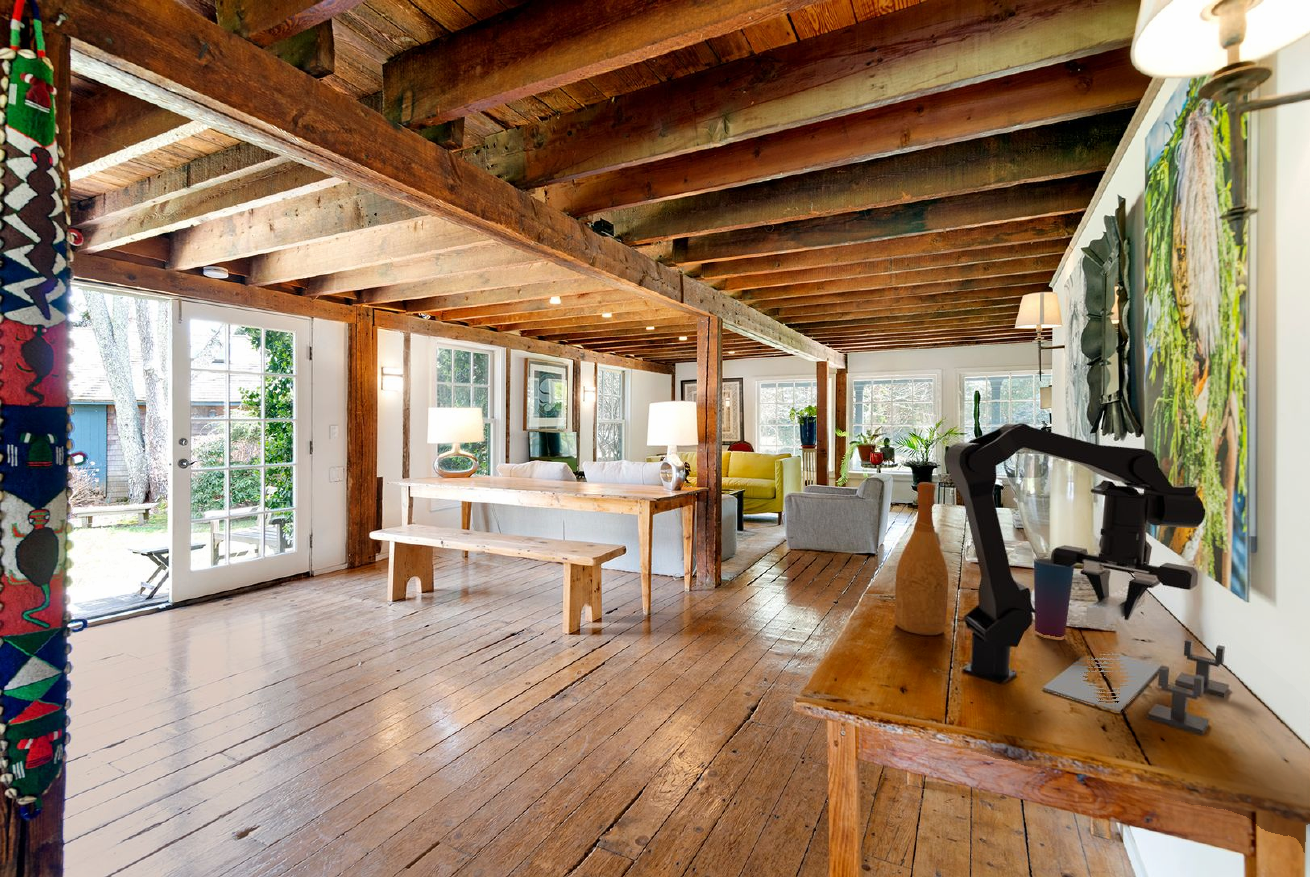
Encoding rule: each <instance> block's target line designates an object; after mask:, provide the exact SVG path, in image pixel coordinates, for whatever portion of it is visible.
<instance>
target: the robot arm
mask: <svg viewBox="0 0 1310 877" xmlns="http://www.w3.org/2000/svg"><path fill="white" fill-rule="evenodd" d="M1022 449H1023V450H1024V451H1030V452H1033V453H1036V454H1040V455H1045V456H1048V457H1053V458H1056V459H1059V460H1063V461H1066V462H1071V463H1074V464H1078V465H1080V466H1083V467H1085V468H1087V469H1089V470H1090V471H1091V472H1094V473H1095V474H1097V475H1100V476H1102V477H1104V478H1106V479H1109V480H1111V481H1109V480H1105V479H1103V480H1102V481H1101V483H1099V484H1098V485H1096V486H1094V487H1093V488H1091V489H1090V493H1091V494H1095V495H1100V496H1104V500H1103V501H1104V502H1103V512H1102V527H1101V528H1100V532H1099V534H1100V535H1101V536H1100V539H1099V545H1098V546H1099V549H1100V550H1099V553H1098V555H1095V554H1090V553H1088V549H1087V548H1084V547H1078V546H1071V545H1068V544H1067V545H1060V546H1058V547H1055V548H1053V549H1052V551H1051V554H1050V555H1051V556H1050V559H1051V563H1052V564H1057V565H1062V566H1067V567H1072V566H1073V565H1074V566H1075V565H1076V564H1080V565H1082V569H1081V570H1080V575H1082V576H1083V575H1084V576H1086V577H1087V580H1088V582H1089V583H1090V584H1091V586H1092V589H1093V592H1094V593H1095V595H1096V597H1097V602H1098V601H1100V600H1102V599H1104V598H1106V597H1108V596H1110V587H1109V586H1110V584H1109V581H1110V577H1111V570H1114V571H1118V572H1123V573H1128V574H1133V576H1134V578H1133V579H1131V580H1129V581H1128V585H1127V586H1128V592H1127V598H1126V604H1125V616H1123V617H1124V621H1129V620H1130V618H1131V616H1132V615H1133V613H1134V611H1135V610H1136V609H1135V607H1136V605H1137V603H1138V601H1139V600H1140V598H1141V596H1142V595H1143V594H1144V592H1145V593H1146V591H1147V590H1148V589H1153V588H1155V587H1157V586H1159V585H1160V584H1162V586H1167V587H1171V588H1176V589H1182V590H1188V591H1190V590H1192V589H1194V588H1195V587H1196V586H1198V578H1199V572H1198V571H1197V569H1196V568H1195V567H1194V566H1187V565H1183V564H1176V563H1170V562H1165V563H1163V564H1161V565H1159V566H1157V565H1153V564H1150V561H1151V555H1152V550H1153V549H1152V548H1153V546H1152V545H1151V544H1150V542H1148V541H1147V522H1148V523H1149V524H1151V525H1152V526H1157V527H1173V528H1188V529H1189V528H1191V529H1192V528H1193V529H1194V528H1198V527H1199V526H1201V524H1202V523H1203V522H1204V520H1205V517H1206V508H1205V507H1204V502H1203V501H1202V499H1201V498H1200V497H1199V496H1198V495H1197V487H1196V486H1190V485H1182V484H1181V485H1174V486H1173V485H1172V483H1171V482H1170V480H1169V479H1168V477H1167V476H1166V475H1165V473H1164V472H1163V471H1162V469H1161V468H1160V465H1159V464H1160V463H1159V461H1158V458H1157V457H1156V453H1155V452H1153V451H1151V450H1149V449H1146V448H1139V447H1138V448H1135V447H1126V446H1114V445H1106V444H1105V445H1104V444H1097V443H1094V442H1089V441H1085V440H1082V439H1078V438H1075V437H1072V436H1071V437H1070V436H1066V435H1063V434H1059V433H1055V432H1051V431H1048V430H1044V429H1040V428H1037V427H1032V426H1030V425H1029V424H1027V423H1022V422H1020V423H1019V422H1007V423H1005V424H1004V425H1002V426H1000V427H999V428H997V429H994V430H993V431H990V432H988V433H985V434H983V435H981V436H978V437H975V438H973V439H971V440H970V441H968V442H963V441H962V442H957V443H954V444H952V445H951V446H949V448H948V450H946V452H945V453H944V456H943V457H944V458H943V459H944V465H945V467H946V470H947V472H948V474H949V477H950V479H951V481H952V482H953V484H954V486H955V487H956V489H957V490H958V492H959V493H960V495H961V497H962V499H963V504H964V508H965V512H966V518H967V521H968V525H969V529H970V534H971V537H972V542H973V546H974V551H975V554H976V559H977V564H978V567H979V572H980V577H981V578H980V582H979V586H978V590H977V593H978V594H977V595H978V604H977V605H976V606H975V607H974V608H972V609H971V610H970V611H969V612H967V613H966V614H965V615H964V616H963V619H964V623H965V626H966V628H967V629H968V630H970V631H972V634H971V646H970V647H971V649H970V650H971V651H970V652H971V653H970V663H968V664H966V665H965V666H962V669H961V670H962V672H965V673H967V674H970V675H974V676H978V677H979V678H983V679H986V680H989V681H992V682H994V683H999V684H1004V683H1006V682H1008V681H1009V680H1011V679H1012V678H1014V677H1016V675H1017V674H1018V673H1017V671H1016V670H1014V669H1011V668H1010V660H1011V657H1010V656H1011V647H1012V648H1017V647H1018V646H1019V645H1020V642H1021V640H1022V638H1023V635H1024V634H1025V632H1027V631H1028V629H1029V628H1030V626H1032V624H1033V620H1034V619H1033V614H1035V613H1036V611H1035V607H1033V604H1032V595H1031V594H1032V593H1031V591H1030V588H1029V587H1027V586H1026V585H1023V584H1022V583H1020V582H1018V581H1016V580H1015V579H1014V577H1013V575H1012V570H1011V566H1010V562H1009V558H1008V554H1007V549H1006V545H1005V541H1004V536H1003V532H1002V528H1001V523H1000V520H999V516H998V511H997V506H996V502H995V498H994V491H995V486H996V482H997V466H998V465H1000V464H1001V463H1003V462H1005V461H1008V460H1009V459H1010V458H1011V457H1012V456H1013V455H1015V454H1016V453H1017V452H1018V451H1021V450H1022ZM1113 481H1115V482H1121V483H1122V484H1124V485H1116V484H1115V483H1114V482H1113ZM1137 489H1138V490H1139V489H1141V490H1143V492H1139V491H1138V490H1137ZM1134 609H1135V610H1134ZM1032 613H1033V614H1032Z"/></svg>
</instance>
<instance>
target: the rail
mask: <svg viewBox="0 0 1310 877" xmlns="http://www.w3.org/2000/svg"><path fill="white" fill-rule="evenodd" d="M1128 586H1129V585H1127V586H1126V587H1125V586H1124V588H1122V589H1120V590H1118V591H1116V592H1114V593H1112V594H1109V596H1108V597H1106V598H1104V599H1102V600H1100V601H1098V600H1097V601H1096V602H1094V603H1092V604H1089V605H1088V606H1086V614H1085V623H1086V624H1089V625H1093V626H1096V627H1101V628H1107V627H1108V626H1110V625H1111V624H1113V623H1115V622H1117V621H1118V620H1120V619H1122V618H1123V617H1124V616H1125V604H1126V598H1127V592H1128ZM1145 601H1146V591H1145V592H1144V594H1143V595H1142V596H1141V598H1140V600H1139V601H1138V603H1137V605H1136V607H1135V609H1134V611H1135V610H1136V609H1138V608H1140V607H1141V606H1143V605H1144V604H1145Z"/></svg>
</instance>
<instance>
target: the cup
mask: <svg viewBox="0 0 1310 877" xmlns="http://www.w3.org/2000/svg"><path fill="white" fill-rule="evenodd" d="M1074 570H1075V565H1073V566H1072V567H1067V566H1062V565H1057V564H1052V563H1051V558H1050V557H1049V558H1048V557H1043V558H1042V557H1039V558H1038V557H1037V558H1034V559H1033V580H1034V581H1033V586H1034V587H1033V588H1034V589H1033V590H1034V591H1033V592H1034V597H1033V598H1034V610H1035V611H1036V613H1034V632H1035V631H1037V632H1039V633H1041V634H1043V635H1050V636H1055V637H1062V636H1064V635H1065V636H1066V630H1067V624H1068V622H1067V621H1068V617H1069V610H1070V609H1069V608H1070V607H1069V606H1070V601H1071V600H1070V599H1071V593H1072V585H1073V577H1074V572H1075V571H1074Z"/></svg>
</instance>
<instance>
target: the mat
mask: <svg viewBox="0 0 1310 877" xmlns="http://www.w3.org/2000/svg"><path fill="white" fill-rule="evenodd" d="M1113 653H1114V652H1112V655H1120V658H1117V657H1116V658H1117V659H1116V660H1124V661H1120V663H1118V664H1124V666H1123V665H1122V666H1120V668H1127V669H1124V670H1123V671H1122V670H1121V671H1120V672H1128V674H1126V673H1125V674H1124V676H1132V677H1128V679H1126V678H1125V679H1123V680H1132V681H1128V682H1125V683H1123V684H1120V685H1128V686H1122V687H1121V686H1120V688H1112V689H1120V691H1119V690H1117V691H1116V692H1115V691H1114V692H1107V693H1120V695H1119V694H1118V695H1116V696H1111V697H1119V698H1116V699H1112V700H1104V699H1103V700H1102V699H1101V700H1100V699H1098V698H1096V697H1106V696H1100V695H1097V694H1094V693H1106V692H1102V691H1101V692H1100V691H1097V690H1096V689H1104V688H1098V687H1096V686H1089V685H1098V684H1093V683H1089V682H1086V681H1083V680H1087V679H1088V678H1085V677H1083V676H1088V675H1087V674H1088V673H1087V674H1086V673H1084V672H1090V671H1088V669H1086V668H1093V667H1088V666H1083V665H1079V664H1086V663H1084V662H1080V661H1078V660H1086V659H1085V658H1084V659H1082V657H1080V658H1079V659H1078V660H1077V661H1074V663H1073V664H1074V665H1073V664H1071V665H1070V666H1069V667H1068V668H1066V669H1064V670H1063V671H1062V672H1061V673H1059V674H1058V675H1057V676H1055V678H1054V677H1053V679H1052V680H1050V681H1049V682H1048V683H1046V684H1045V685H1043V687H1042V690H1043V689H1044V690H1046V691H1050V692H1052V693H1057V694H1059V695H1062V696H1065V697H1070V698H1072V699H1074V700H1078V701H1083V702H1087V703H1091V704H1094V705H1100V706H1102V707H1104V708H1107V709H1112V710H1115V711H1117V712H1120V711H1121V710H1122V709H1123V708H1124V707H1125V705H1127V703H1128V702H1129V701H1130V700H1131V699H1132V698H1133V697H1134V696H1135V695H1136V694H1137V693H1138V694H1139V693H1141V691H1142V690H1143V689H1144V688H1145V687H1146V686H1147V685H1148V683H1149V682H1151V680H1152V679H1153V678H1154V677H1155V676H1156V675H1157V674H1158V673H1159V668H1160V667H1161V666H1162V665H1161V664H1158V663H1154V662H1149V661H1146V660H1143V659H1139V658H1134V657H1131V656H1126V655H1124V654H1119V653H1115V654H1113ZM1100 655H1102V654H1100ZM1103 655H1106V654H1103ZM1107 655H1110V654H1107ZM1121 655H1122V656H1121ZM1111 659H1112V658H1110V659H1107V658H1104V657H1103V658H1099V659H1098V658H1095V659H1093V658H1092V659H1091V660H1111ZM1087 660H1090V659H1088V658H1087ZM1112 660H1115V659H1112ZM1075 664H1078V666H1077V665H1075ZM1087 664H1089V663H1087ZM1091 664H1094V663H1091ZM1095 664H1109V663H1107V662H1106V661H1104V662H1103V663H1102V662H1099V663H1097V662H1095ZM1110 664H1111V663H1110ZM1112 664H1113V663H1112ZM1116 664H1117V663H1116ZM1094 668H1112V667H1107V666H1101V665H1100V667H1098V666H1095V667H1094ZM1091 672H1097V671H1096V670H1095V671H1091ZM1099 672H1111V671H1104V670H1101V671H1099ZM1112 672H1113V671H1112ZM1116 672H1117V671H1116ZM1104 676H1105V675H1104ZM1120 676H1121V675H1120ZM1122 676H1123V675H1122ZM1099 685H1100V684H1099ZM1144 686H1145V687H1144ZM1094 689H1095V690H1094ZM1141 689H1142V690H1141ZM1140 690H1141V691H1140ZM1046 691H1045V692H1046ZM1052 693H1051V694H1052ZM1059 695H1058V696H1059ZM1062 696H1061V697H1062ZM1065 697H1064V698H1065ZM1094 697H1095V698H1094ZM1107 697H1108V696H1107ZM1109 697H1110V696H1109ZM1074 700H1073V701H1074ZM1098 701H1120V702H1118V703H1117V702H1116V703H1105V702H1104V703H1103V702H1098ZM1111 705H1112V706H1111ZM1115 705H1116V706H1115Z"/></svg>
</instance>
